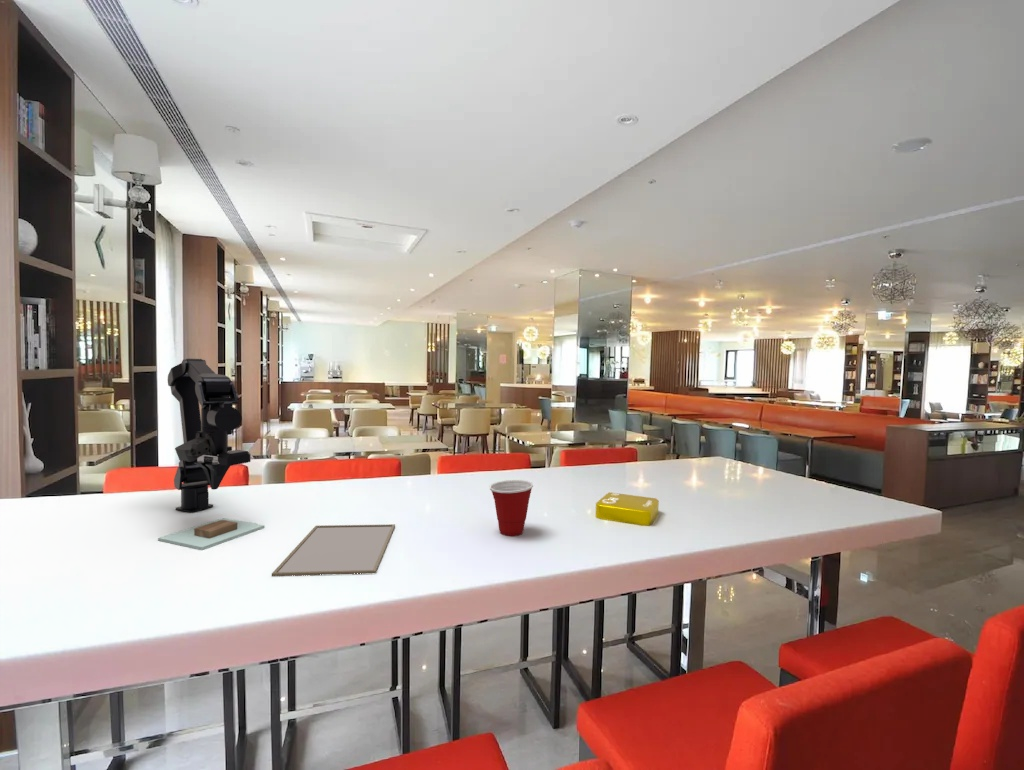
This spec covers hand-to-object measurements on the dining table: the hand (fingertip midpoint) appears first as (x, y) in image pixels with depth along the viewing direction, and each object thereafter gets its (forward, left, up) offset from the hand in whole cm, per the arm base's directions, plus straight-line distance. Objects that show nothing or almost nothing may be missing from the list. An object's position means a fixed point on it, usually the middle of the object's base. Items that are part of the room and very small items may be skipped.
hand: (214, 489), depth 121 cm
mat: (+7, -6, -9) cm, 12 cm away
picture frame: (+40, -1, -9) cm, 41 cm away
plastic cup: (+70, +24, -9) cm, 75 cm away
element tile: (+95, +51, -9) cm, 108 cm away
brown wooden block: (+6, -6, -7) cm, 11 cm away
